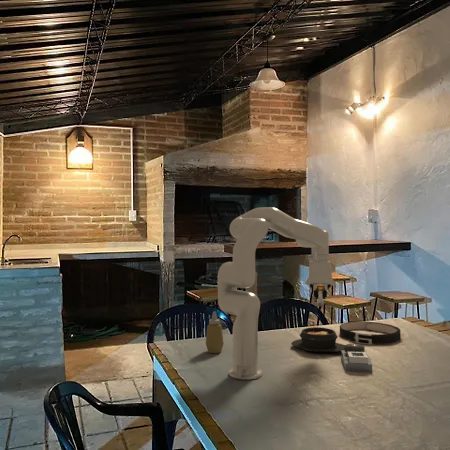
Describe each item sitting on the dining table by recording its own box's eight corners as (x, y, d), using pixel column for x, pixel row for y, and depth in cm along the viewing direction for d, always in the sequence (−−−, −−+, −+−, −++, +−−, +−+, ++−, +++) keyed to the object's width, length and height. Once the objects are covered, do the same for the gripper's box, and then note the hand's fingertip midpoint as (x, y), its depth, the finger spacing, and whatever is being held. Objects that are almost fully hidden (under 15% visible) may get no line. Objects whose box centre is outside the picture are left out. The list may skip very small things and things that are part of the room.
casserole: (284, 350, 206) (284, 332, 206) (299, 341, 223) (299, 323, 222) (340, 358, 194) (340, 339, 194) (351, 348, 210) (351, 329, 210)
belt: (332, 340, 224) (332, 330, 223) (346, 327, 250) (346, 318, 250) (396, 348, 210) (396, 337, 210) (404, 333, 236) (403, 323, 236)
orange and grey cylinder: (324, 306, 205) (323, 286, 205) (317, 306, 205) (316, 285, 205) (323, 304, 208) (323, 285, 208) (316, 304, 208) (316, 285, 208)
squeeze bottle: (224, 349, 209) (224, 310, 209) (222, 354, 201) (222, 313, 201) (207, 349, 210) (206, 309, 210) (204, 354, 202) (204, 313, 202)
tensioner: (372, 372, 177) (372, 355, 177) (345, 371, 178) (345, 354, 178) (365, 358, 194) (365, 342, 194) (341, 357, 196) (341, 341, 196)
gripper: (301, 258, 204) (301, 299, 204) (339, 258, 201) (339, 300, 201) (301, 257, 211) (302, 297, 211) (338, 257, 208) (338, 297, 209)
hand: (320, 298), depth 206 cm, fingers closed on orange and grey cylinder, 3 cm apart
